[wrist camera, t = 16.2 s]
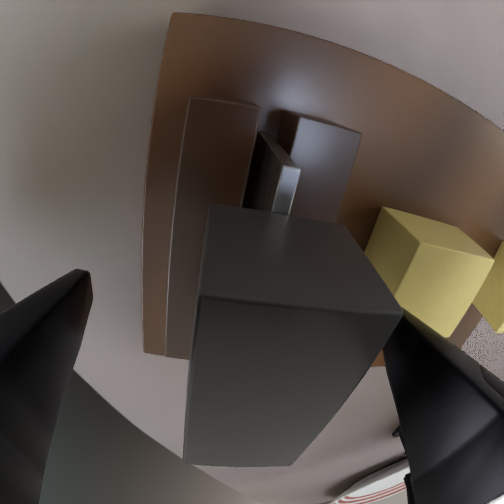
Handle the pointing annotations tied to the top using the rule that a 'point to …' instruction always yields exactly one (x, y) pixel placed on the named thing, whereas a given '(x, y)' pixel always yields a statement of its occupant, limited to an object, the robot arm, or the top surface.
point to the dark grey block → (277, 324)
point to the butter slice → (493, 294)
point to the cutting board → (337, 85)
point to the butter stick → (428, 266)
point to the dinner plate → (376, 485)
